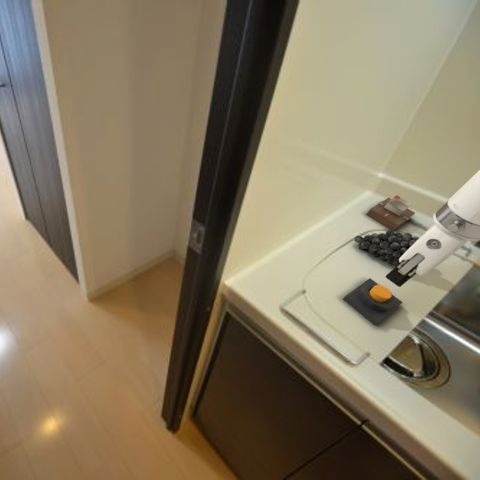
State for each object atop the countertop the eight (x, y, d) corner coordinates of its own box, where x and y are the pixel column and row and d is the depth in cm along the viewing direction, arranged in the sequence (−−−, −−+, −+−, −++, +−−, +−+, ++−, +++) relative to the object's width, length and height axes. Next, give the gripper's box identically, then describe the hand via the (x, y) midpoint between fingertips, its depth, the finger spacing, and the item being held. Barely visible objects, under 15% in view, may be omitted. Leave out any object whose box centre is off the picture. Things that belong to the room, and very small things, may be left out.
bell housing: (364, 283, 81) (374, 273, 78) (396, 307, 77) (408, 298, 74) (340, 300, 78) (350, 291, 75) (372, 327, 73) (384, 318, 70)
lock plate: (381, 204, 102) (387, 196, 99) (409, 220, 97) (417, 213, 95) (363, 215, 98) (369, 207, 96) (392, 233, 93) (399, 225, 91)
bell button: (374, 286, 76) (379, 282, 75) (389, 298, 74) (395, 293, 73) (366, 293, 75) (370, 289, 74) (381, 305, 73) (386, 300, 71)
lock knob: (402, 214, 94) (412, 203, 91) (399, 216, 94) (409, 205, 90) (386, 205, 97) (396, 194, 94) (383, 207, 96) (393, 196, 93)
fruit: (367, 225, 82) (438, 248, 77) (363, 215, 88) (429, 235, 83) (349, 254, 86) (416, 277, 81) (347, 242, 93) (408, 262, 88)
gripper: (469, 250, 51) (392, 309, 65) (507, 218, 57) (429, 278, 71) (420, 221, 56) (357, 282, 69) (460, 194, 61) (395, 255, 75)
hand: (394, 280), depth 70 cm, fingers closed
